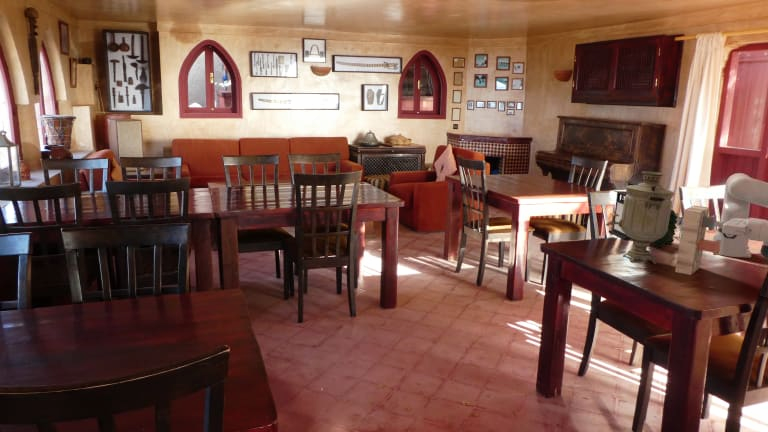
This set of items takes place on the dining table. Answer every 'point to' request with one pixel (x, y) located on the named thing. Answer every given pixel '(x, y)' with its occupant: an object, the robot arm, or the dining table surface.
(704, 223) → the charcoal plug
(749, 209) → the robot arm
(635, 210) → the samovar
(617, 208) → the lantern
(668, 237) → the toy figurine
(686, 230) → the block
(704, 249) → the terracotta plug
